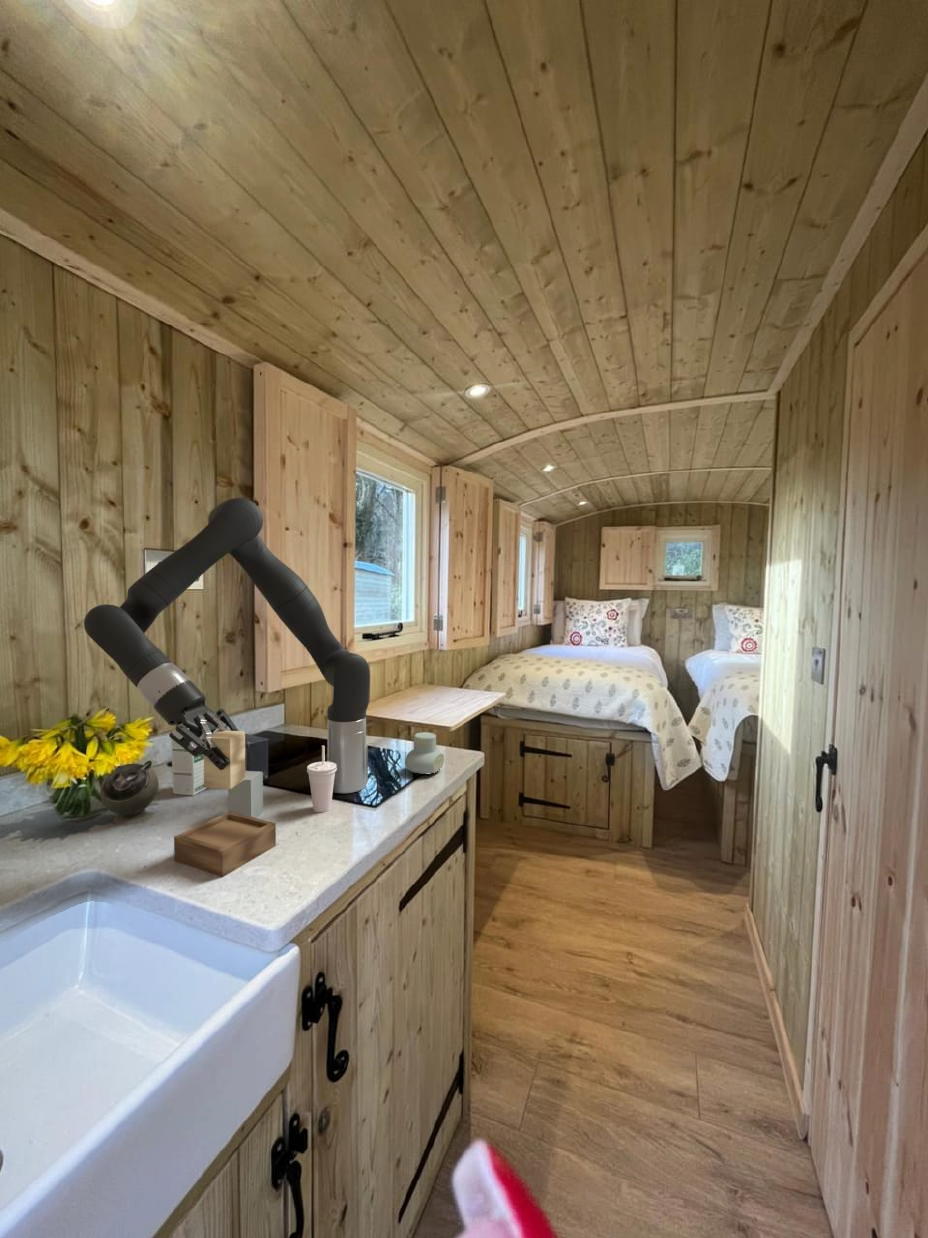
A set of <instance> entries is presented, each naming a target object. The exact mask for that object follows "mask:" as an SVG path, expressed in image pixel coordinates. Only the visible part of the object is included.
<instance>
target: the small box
mask: <svg viewBox="0 0 928 1238" xmlns="http://www.w3.org/2000/svg"><path fill="white" fill-rule="evenodd" d="M245 750H246V751H247V753H246V755H245V771H259V772H263V781H264V780H267V779H269V739H268V738H267V737H261V736H259V735H254V734H253V735H252V734H248V733H245Z"/></svg>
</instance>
